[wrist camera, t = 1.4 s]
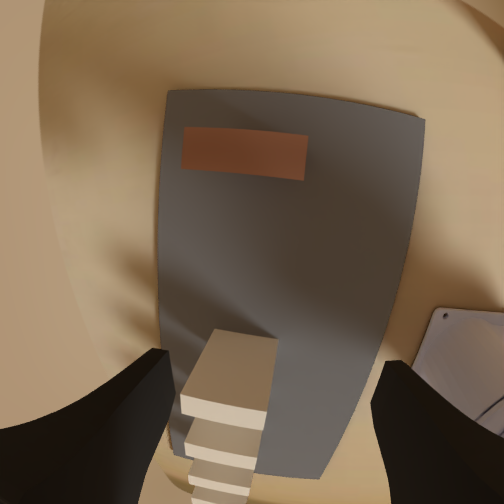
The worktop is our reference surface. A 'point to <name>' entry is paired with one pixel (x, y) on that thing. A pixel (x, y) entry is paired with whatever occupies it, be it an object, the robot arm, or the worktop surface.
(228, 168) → the terracotta domino
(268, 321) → the charcoal mat
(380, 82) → the worktop surface
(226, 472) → the ivory domino
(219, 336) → the ivory domino
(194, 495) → the ivory domino
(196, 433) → the ivory domino
